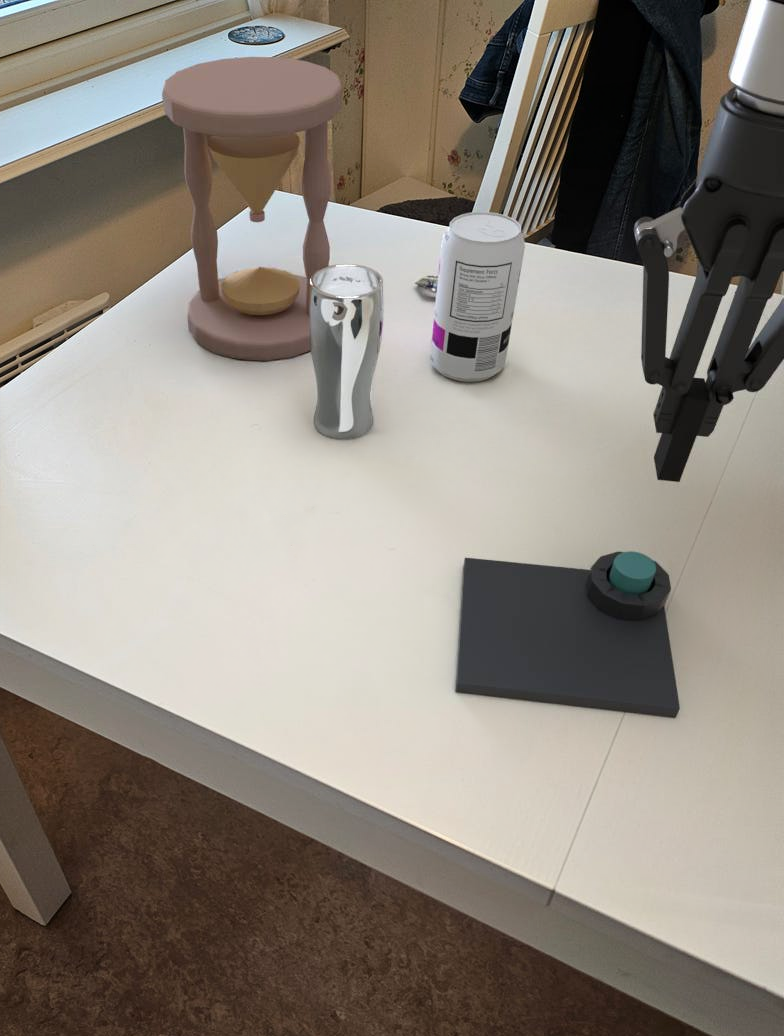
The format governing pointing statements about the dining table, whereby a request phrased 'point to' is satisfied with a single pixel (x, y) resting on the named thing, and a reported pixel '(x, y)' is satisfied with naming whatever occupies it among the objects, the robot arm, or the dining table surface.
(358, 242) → the dining table surface
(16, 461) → the dining table surface
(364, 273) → the beer glass
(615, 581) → the tare button
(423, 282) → the blueberries
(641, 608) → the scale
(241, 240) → the dining table surface
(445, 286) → the supplement can
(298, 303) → the hourglass
